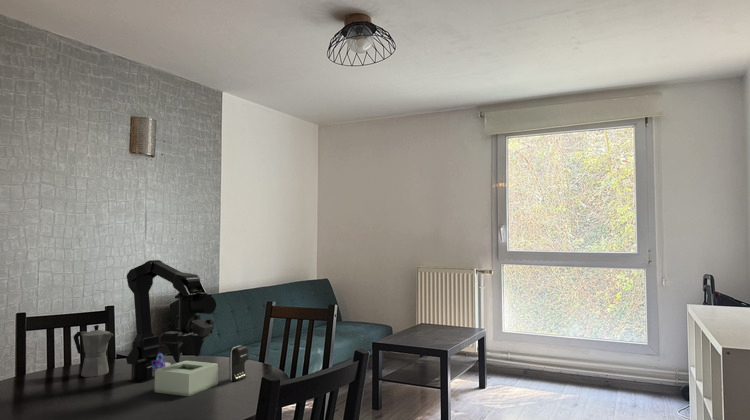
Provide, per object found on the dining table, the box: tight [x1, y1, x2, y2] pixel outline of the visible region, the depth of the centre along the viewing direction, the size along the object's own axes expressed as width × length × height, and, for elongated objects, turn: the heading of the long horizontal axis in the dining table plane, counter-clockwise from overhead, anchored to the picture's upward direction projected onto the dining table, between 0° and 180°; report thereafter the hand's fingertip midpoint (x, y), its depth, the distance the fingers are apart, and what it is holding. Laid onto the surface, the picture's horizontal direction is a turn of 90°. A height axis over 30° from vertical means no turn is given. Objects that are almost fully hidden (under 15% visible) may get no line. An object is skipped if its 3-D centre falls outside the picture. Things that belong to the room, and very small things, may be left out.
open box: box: [154, 360, 219, 397], centre depth 167 cm, size 14×14×7 cm
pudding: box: [152, 352, 172, 371], centre depth 196 cm, size 12×12×5 cm
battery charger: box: [229, 345, 249, 382], centre depth 178 cm, size 7×4×11 cm, turn 159°
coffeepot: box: [73, 324, 114, 378], centre depth 187 cm, size 15×9×18 cm, turn 85°
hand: (187, 359), depth 167 cm, fingers open, 9 cm apart
